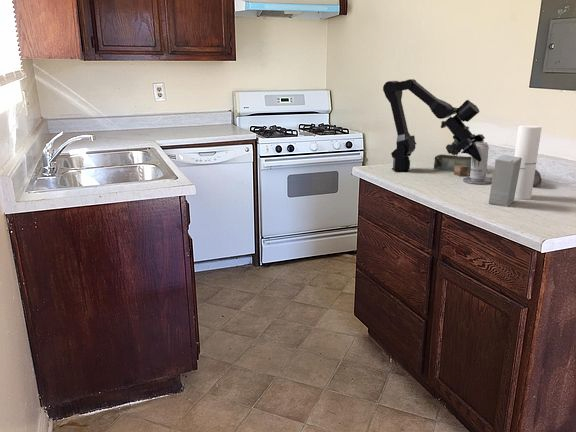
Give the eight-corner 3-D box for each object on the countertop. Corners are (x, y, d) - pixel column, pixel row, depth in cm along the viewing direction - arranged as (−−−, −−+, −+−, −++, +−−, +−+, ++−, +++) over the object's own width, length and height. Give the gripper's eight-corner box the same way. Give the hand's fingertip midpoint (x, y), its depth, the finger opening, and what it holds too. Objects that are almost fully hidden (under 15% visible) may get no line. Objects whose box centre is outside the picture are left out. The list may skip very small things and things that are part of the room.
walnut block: (459, 176, 204) (460, 167, 203) (453, 174, 208) (454, 165, 207) (467, 175, 205) (468, 166, 204) (461, 174, 209) (462, 164, 208)
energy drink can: (466, 180, 195) (469, 142, 191) (474, 177, 199) (477, 141, 195) (480, 182, 191) (484, 144, 187) (488, 179, 195) (492, 142, 190)
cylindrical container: (533, 200, 169) (544, 127, 161) (511, 199, 170) (521, 127, 162) (528, 194, 175) (538, 125, 168) (507, 193, 177) (516, 124, 169)
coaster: (469, 185, 190) (469, 183, 190) (458, 178, 200) (458, 177, 200) (497, 184, 190) (497, 182, 190) (484, 178, 201) (484, 176, 201)
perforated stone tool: (545, 189, 183) (548, 171, 181) (531, 189, 183) (534, 171, 181) (525, 179, 198) (528, 163, 196) (512, 180, 198) (515, 163, 195)
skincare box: (495, 198, 171) (500, 154, 166) (516, 202, 166) (523, 156, 162) (487, 203, 165) (492, 157, 160) (509, 207, 160) (515, 160, 155)
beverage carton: (439, 166, 225) (440, 152, 223) (481, 171, 214) (483, 156, 212) (433, 169, 219) (434, 155, 217) (476, 174, 208) (478, 159, 206)
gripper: (452, 139, 207) (475, 168, 204) (434, 144, 193) (458, 175, 190) (472, 122, 200) (497, 151, 197) (455, 126, 186) (481, 158, 183)
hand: (483, 159), depth 192 cm, fingers closed on energy drink can, 6 cm apart
